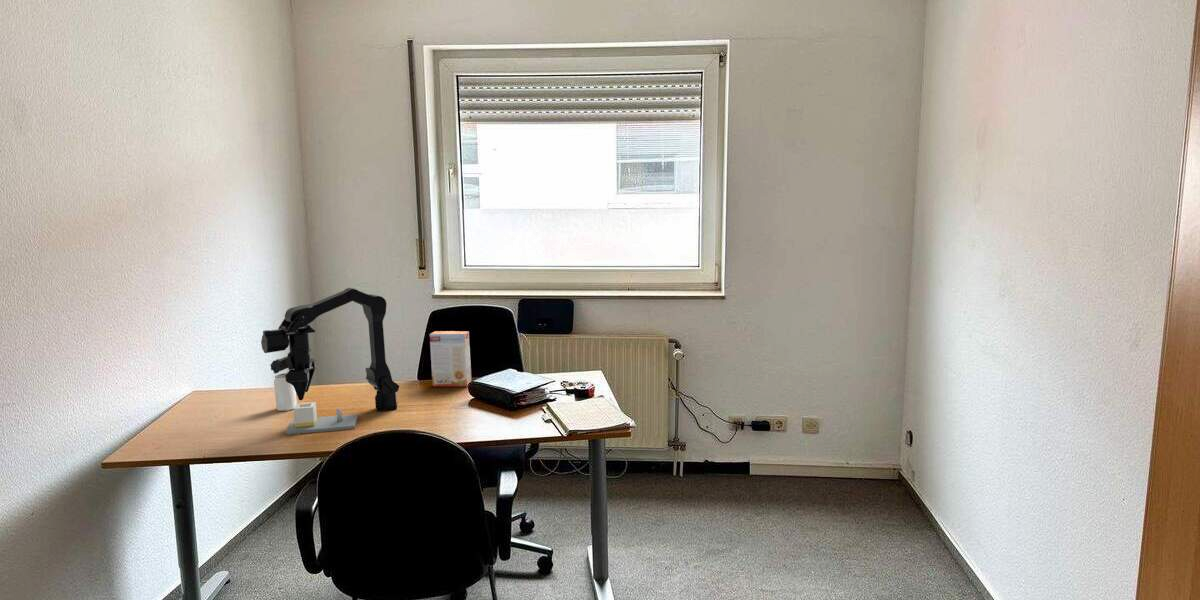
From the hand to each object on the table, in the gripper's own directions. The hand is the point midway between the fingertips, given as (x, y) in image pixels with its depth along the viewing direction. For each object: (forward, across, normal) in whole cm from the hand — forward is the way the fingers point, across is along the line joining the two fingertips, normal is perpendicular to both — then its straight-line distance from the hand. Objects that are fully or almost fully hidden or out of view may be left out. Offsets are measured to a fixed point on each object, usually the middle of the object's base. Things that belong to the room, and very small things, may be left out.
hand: (303, 396), depth 212 cm
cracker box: (+10, -36, +47) cm, 60 cm away
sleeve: (+9, 0, 0) cm, 9 cm away
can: (+11, -23, -10) cm, 27 cm away
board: (+10, 0, +5) cm, 12 cm away
